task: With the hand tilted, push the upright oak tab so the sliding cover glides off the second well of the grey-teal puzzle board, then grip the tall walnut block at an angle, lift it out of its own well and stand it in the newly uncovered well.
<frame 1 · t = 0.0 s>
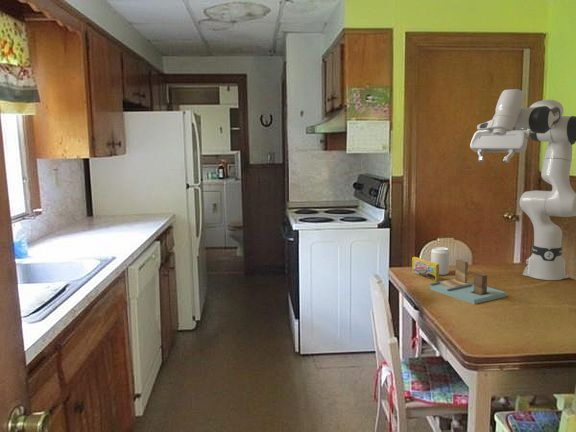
hand: (492, 161, 187), 54 cm above the table, tool tilted 30°, fingers open, 8 cm apart
walnut block: (479, 296, 202), point 1 cm above the table, touching puzzle board
candy box: (425, 278, 234), on the table
beverage can: (439, 273, 240), on the table
puzzle board: (466, 294, 207), on the table
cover: (455, 273, 212), point 7 cm above the table, slide at 0.0 cm
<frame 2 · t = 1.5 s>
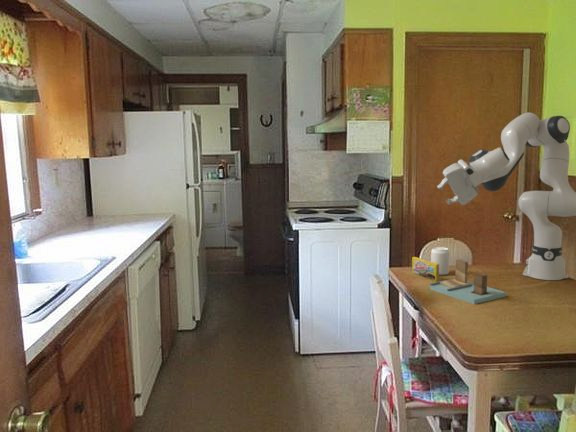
hand: (442, 195, 212), 40 cm above the table, tool tilted 55°, fingers open, 8 cm apart
nothing on the table moved.
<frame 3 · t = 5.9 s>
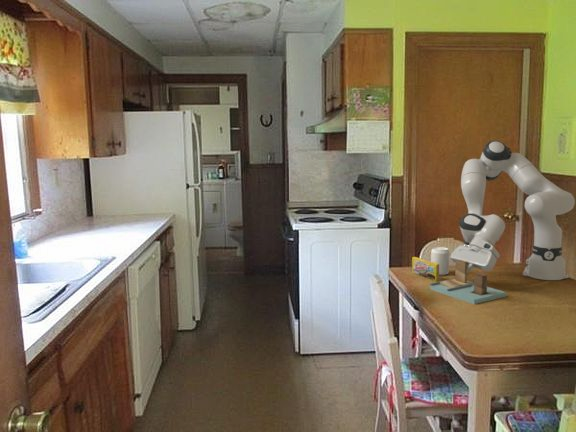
hand: (462, 272, 215), 7 cm above the table, tool tilted 45°, fingers closed, pressing on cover
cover: (454, 273, 212), point 7 cm above the table, slide at 0.1 cm, touching gripper
everything else where it was.
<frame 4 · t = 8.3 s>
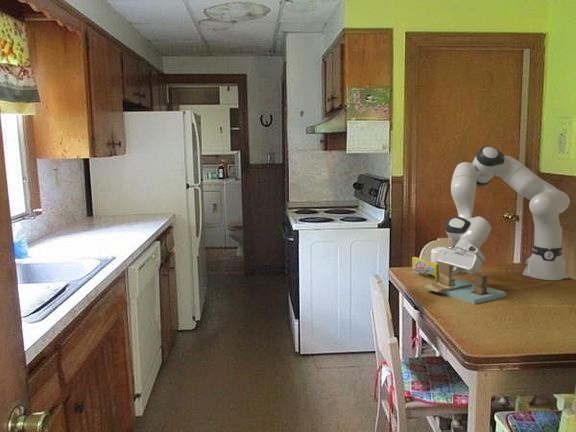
hand: (447, 276, 210), 7 cm above the table, tool tilted 45°, fingers closed, pressing on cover
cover: (438, 276, 207), point 7 cm above the table, slide at 9.3 cm, touching gripper
everything else where it was.
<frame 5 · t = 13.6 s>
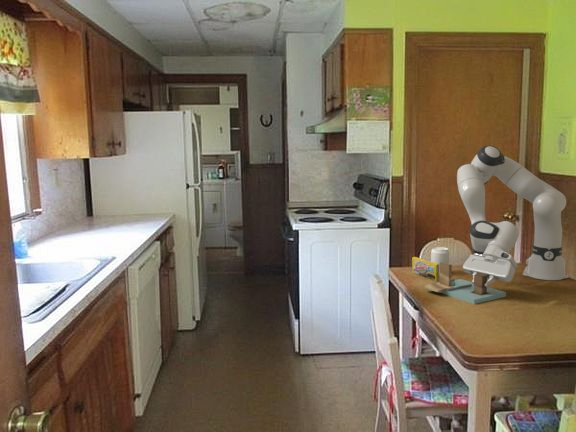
hand: (479, 284, 200), 6 cm above the table, tool tilted 45°, fingers closed on walnut block, 3 cm apart
walnut block: (479, 296, 202), point 1 cm above the table, touching gripper, puzzle board
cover: (438, 276, 207), point 7 cm above the table, slide at 9.3 cm
everything else where it was.
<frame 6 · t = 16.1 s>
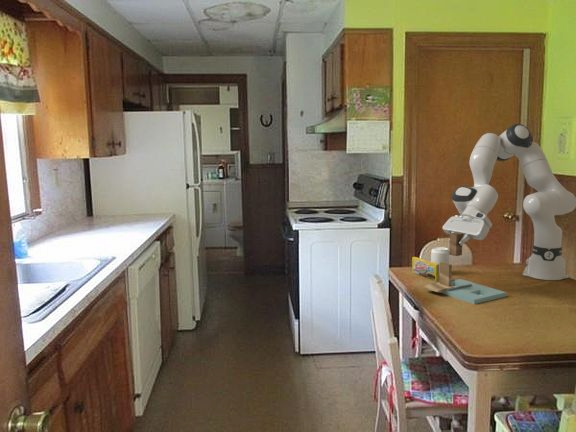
hand: (454, 243, 210), 20 cm above the table, tool tilted 45°, fingers closed on walnut block, 3 cm apart
walnut block: (455, 254, 211), point 15 cm above the table, touching gripper
everything else where it was.
when the fingers open (7 cm above the table, at t = 18.9 s): walnut block drops 1 cm, resting on puzzle board.
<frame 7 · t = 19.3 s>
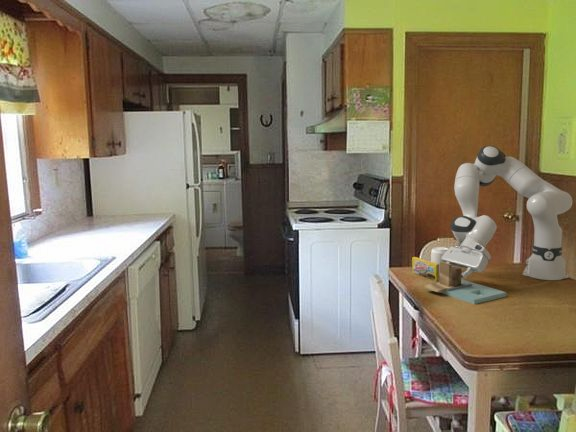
hand: (454, 274, 212), 7 cm above the table, tool tilted 45°, fingers open, 8 cm apart
walnut block: (454, 288, 213), point 1 cm above the table, touching puzzle board
everything else where it was.
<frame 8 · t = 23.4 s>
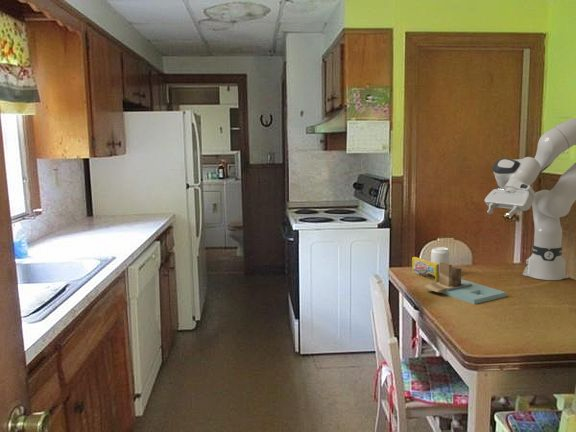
hand: (498, 214, 212), 31 cm above the table, tool tilted 45°, fingers open, 8 cm apart
nothing on the table moved.
at the end: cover slide at 9.3 cm; walnut block 0.1 cm from the target spot, point 0.8 cm above the table; walnut block tilted 0° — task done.
